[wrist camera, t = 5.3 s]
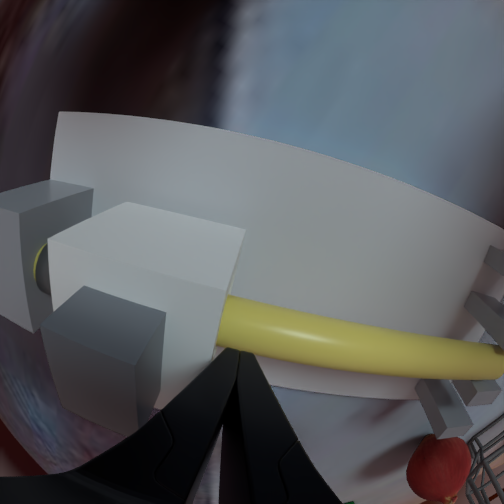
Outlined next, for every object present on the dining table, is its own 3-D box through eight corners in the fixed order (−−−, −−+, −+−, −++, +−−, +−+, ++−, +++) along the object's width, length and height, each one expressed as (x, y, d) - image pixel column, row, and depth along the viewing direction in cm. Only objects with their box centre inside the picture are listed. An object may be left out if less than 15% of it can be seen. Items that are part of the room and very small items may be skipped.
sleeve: (246, 229, 11) (209, 346, 5) (221, 334, 13) (185, 470, 6) (126, 201, 11) (-4, 266, 4) (120, 305, 13) (37, 407, 6)
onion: (457, 431, 18) (483, 492, 11) (406, 459, 20) (423, 523, 12) (451, 406, 17) (485, 479, 9) (391, 440, 18) (411, 517, 11)
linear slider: (515, 236, 12) (580, 275, 6) (434, 390, 16) (463, 451, 11) (70, 112, 12) (-16, 110, 6) (63, 309, 16) (8, 363, 10)
